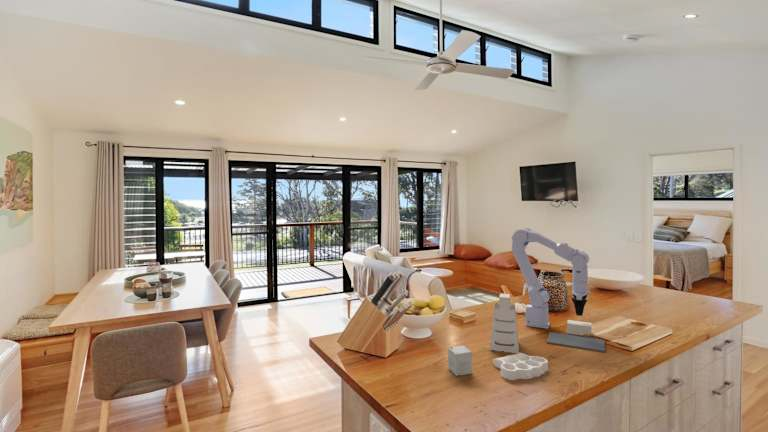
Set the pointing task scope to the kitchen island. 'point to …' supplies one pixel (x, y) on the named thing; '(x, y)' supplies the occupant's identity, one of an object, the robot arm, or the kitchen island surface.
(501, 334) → the grater
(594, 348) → the mat
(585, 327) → the block
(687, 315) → the kitchen island surface
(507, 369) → the white scalloped muffin tray
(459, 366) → the skincare box
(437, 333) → the kitchen island surface
